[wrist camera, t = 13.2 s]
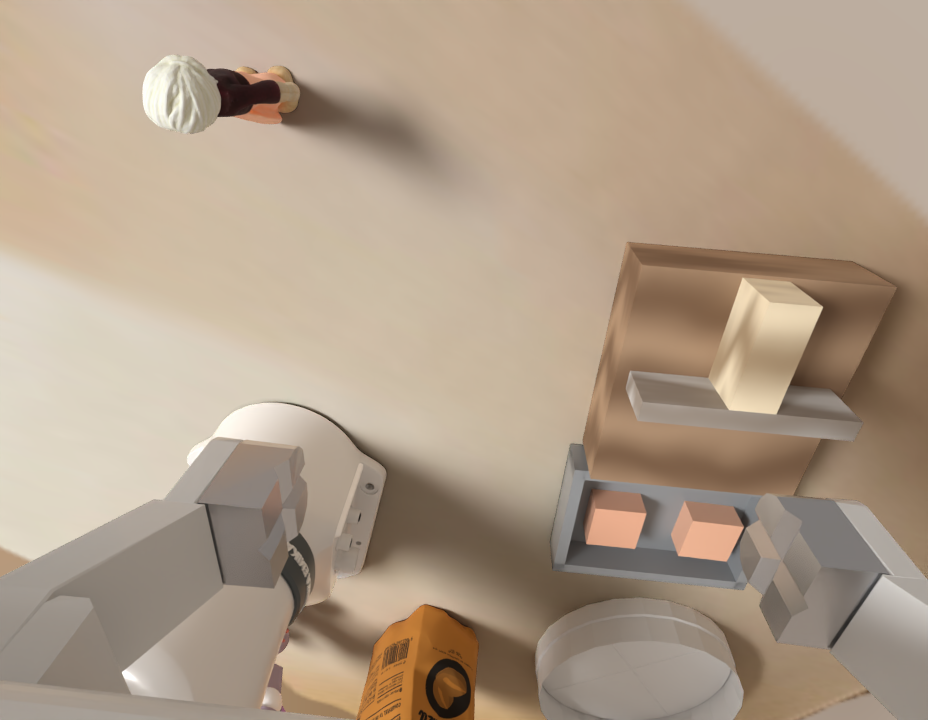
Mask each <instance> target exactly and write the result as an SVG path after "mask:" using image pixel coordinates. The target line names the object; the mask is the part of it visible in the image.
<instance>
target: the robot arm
mask: <svg viewBox="0 0 928 720" xmlns="http://www.w3.org/2000/svg"><path fill="white" fill-rule="evenodd" d="M187 462H188V464H189V468H188V469H187V470H186V471H185V473H184V474H183V475H182V476H181V478H180V479H179V480H178V481H177V483H176V484H175V485H174V487H173V488H172V489H171V490H170V492H169V493H168V494H167V495H166V497H165V498H164V499H163V500H156V499H154V500H152V501H150V502H148V503H146V504H144V505H142V506H140V507H138V508H136V509H134V510H132V511H130V512H128V513H126V514H124V515H122V516H120V517H118V518H116V519H114V520H112V521H110V522H108V523H106V524H104V525H102V526H100V527H98V528H96V529H94V530H92V531H90V532H88V533H87V534H85V535H83V536H81V537H79V538H77V539H75V540H73V541H71V542H69V543H67V544H65V545H63V546H61V547H59V548H57V549H55V550H53V551H51V552H49V553H47V554H45V555H43V556H41V557H39V558H37V559H35V560H33V561H31V562H29V563H27V564H25V565H24V566H21V567H20V568H18V569H16V570H14V571H12V572H10V573H8V574H6V575H4V576H2V577H0V720H352V719H343V718H334V717H326V716H317V715H308V714H299V713H290V712H281V711H273V710H264V709H261V706H262V703H263V699H264V696H265V693H266V689H267V686H268V682H269V679H270V676H271V673H272V670H273V667H274V663H275V660H276V658H277V655H278V652H279V649H280V646H281V643H282V642H285V639H283V638H284V635H285V633H288V632H289V629H287V627H289V626H290V625H291V624H292V623H293V622H294V620H295V619H296V618H297V616H298V614H299V613H301V611H302V610H303V608H304V607H305V606H309V605H314V604H318V603H320V602H323V601H324V600H326V599H327V598H329V597H330V595H331V593H332V591H333V588H334V585H335V582H336V579H341V578H346V577H350V576H353V575H356V574H358V573H360V571H361V569H362V567H363V565H364V562H365V558H366V554H367V550H368V546H369V543H370V539H371V535H372V531H373V527H374V523H375V519H376V515H377V511H378V507H379V503H380V499H381V496H382V492H383V488H384V484H385V480H386V475H387V474H386V470H385V468H384V467H383V466H382V465H381V464H379V463H378V462H376V461H375V460H373V459H372V458H370V457H368V456H367V455H365V454H363V453H362V452H361V451H359V450H358V449H357V447H356V446H355V445H354V444H353V443H352V441H351V440H350V439H349V438H348V437H347V436H346V434H345V433H344V432H343V431H342V430H340V429H339V428H338V427H337V426H336V425H334V424H333V423H332V422H330V421H329V420H327V419H326V418H324V417H322V416H321V415H319V414H317V413H315V412H312V411H310V410H307V409H305V408H302V407H298V406H294V405H290V404H284V403H258V404H253V405H249V406H246V407H243V408H241V409H238V410H236V411H235V412H233V413H232V414H230V415H229V416H228V417H226V418H225V419H224V420H223V421H222V423H221V424H220V425H219V427H218V428H217V430H216V432H215V433H214V434H213V436H212V437H211V438H209V439H207V440H205V441H203V442H201V443H199V444H197V445H195V446H194V447H193V448H192V449H191V451H190V453H189V454H188V456H187ZM368 483H371V484H373V485H370V484H368ZM755 512H756V514H757V516H758V518H759V520H758V521H756V522H755V523H753V524H752V525H750V526H748V527H747V528H746V529H745V532H744V534H743V537H742V539H741V542H740V560H741V565H742V569H743V572H744V574H745V576H746V578H747V581H748V583H749V584H751V585H752V586H753V587H754V588H755V589H756V590H758V591H759V592H760V593H761V594H762V595H763V596H762V599H761V602H760V605H759V606H760V608H761V610H762V613H763V615H764V617H765V619H766V621H767V623H768V625H769V627H770V629H771V631H772V634H773V636H774V638H775V640H776V642H777V643H784V644H792V645H799V646H807V647H814V648H821V649H829V650H831V651H830V653H831V654H832V655H833V656H834V657H835V658H836V659H837V660H838V661H839V662H840V663H841V664H842V665H843V666H844V667H845V668H846V669H847V670H848V671H849V672H850V673H851V674H852V675H853V676H854V677H855V678H856V679H857V680H858V681H859V682H860V683H861V684H862V685H863V686H864V687H865V688H866V689H867V690H868V691H869V692H870V693H871V694H872V695H873V696H874V697H875V698H876V699H877V700H878V701H879V702H880V703H881V704H882V705H883V706H884V707H885V708H886V709H887V710H888V711H889V712H890V713H891V714H892V715H893V716H895V718H896V719H897V720H928V579H926V577H925V576H924V575H923V574H922V573H921V571H920V570H919V569H918V568H917V567H916V565H915V564H914V563H913V562H912V561H911V559H910V558H909V557H908V556H907V554H906V553H905V552H904V551H903V550H902V548H901V547H900V546H899V545H898V544H897V542H896V541H895V540H894V539H893V537H892V536H891V535H890V534H889V533H888V531H887V530H886V529H885V528H884V527H883V525H882V524H881V523H880V522H879V521H878V519H877V518H876V517H875V516H874V514H873V513H872V512H871V511H870V510H869V508H868V507H867V506H865V505H864V504H862V503H860V502H859V501H856V500H844V499H831V498H826V499H823V498H813V497H803V496H792V495H781V494H771V493H766V494H765V495H764V496H763V497H762V498H760V500H759V502H758V504H757V506H756V508H755Z"/></svg>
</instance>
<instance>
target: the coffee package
mask: <svg viewBox="0 0 928 720" xmlns="http://www.w3.org/2000/svg"><path fill="white" fill-rule="evenodd" d="M478 648H479V643H478V641H477V639H476V636H475V633H474V631H473V630H472V629H471V628H469V627H465V626H463V625H461V624H460V623H459V622H458V621H457V620H456V619H453V618H451V617H449V616H448V615H447V613H446V612H445V611H443V610H441V609H437V608H435V607H432V606H429V605H422V606H420V607H419V608H418V609H417V610H416V611H415V612H414V613H413V614H412V615H411V616H410V617H409V618H408V619H406V620H404V621H401V622H396V623H394V624H392V625H390V626H389V627H388V628H387V630H386V631H385V632H384V634H383V635H382V636H381V638H380V639H379V640H378V641H377V642H376V643H375V645H374V648H373V654H372V658H371V662H370V667H369V672H368V677H367V681H366V684H365V688H364V691H363V695H362V699H361V705H360V708H359V712H358V715H357V719H356V720H474V706H475V703H474V693H475V681H476V670H477V657H478Z"/></svg>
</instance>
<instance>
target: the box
mask: <svg viewBox="0 0 928 720" xmlns="http://www.w3.org/2000/svg"><path fill="white" fill-rule="evenodd" d="M591 489H599V490H609V491H619V492H630V493H640V494H641V497H642V500H643V503H644V507H645V510H646V513H647V514H646V517H645V520H644V523H643V526H642V529H641V532H640V536H639V539H638V542H637V545H636V548H635V549H631V548H621V547H611V546H601V545H591V544H586V539H585V533H584V527H583V521H584V517H585V513H586V509H587V505H588V501H589V497H590V493H591ZM762 497H763V496H761V495H750V494H740V493H730V492H720V491H709V490H699V489H689V488H679V487H669V486H658V485H648V484H638V483H628V482H617V481H607V480H597V479H590V474H589V469H588V464H587V460H586V455H585V450H584V445H578V444H570V448H569V453H568V458H567V462H566V467H565V472H564V477H563V481H562V486H561V491H560V496H559V501H558V505H557V510H556V515H555V520H554V524H553V529H552V534H551V539H550V548H551V559H552V570H553V571H561V572H571V573H581V574H591V575H600V576H610V577H620V578H630V579H639V580H649V581H659V582H669V583H678V584H688V585H698V586H708V587H717V588H727V589H737V590H744V588H745V586H746V584H747V582H748V581H747V578H746V576H745V574H744V572H743V569H742V565H741V560H740V542H741V539H742V537H743V534H744V532H745V529H746V528H747V527H748V526H750V525H752V524H753V523H755V522H756V521H758V520H759V518H758V516H757V514H756V512H755V508H756V506H757V504H758V502H759V500H760V498H762ZM684 501H692V502H700V503H709V504H717V505H726V506H733V507H734V509H735V511H736V512H737V514H738V516H739V518H740V520H741V522H742V524H743V526H744V528H743V530H742V532H741V534H740V536H739V538H738V540H737V542H736V544H735V546H734V548H733V550H732V552H731V554H730V556H729V558H728V560H727V562H725V561H717V560H709V559H700V558H692V557H684V556H678V554H677V551H676V548H675V545H674V543H673V540H672V537H671V533H672V531H673V528H674V526H675V523H676V521H677V518H678V516H679V513H680V511H681V508H682V506H683V504H684Z"/></svg>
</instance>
